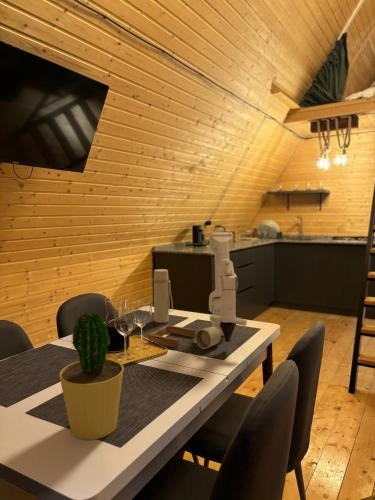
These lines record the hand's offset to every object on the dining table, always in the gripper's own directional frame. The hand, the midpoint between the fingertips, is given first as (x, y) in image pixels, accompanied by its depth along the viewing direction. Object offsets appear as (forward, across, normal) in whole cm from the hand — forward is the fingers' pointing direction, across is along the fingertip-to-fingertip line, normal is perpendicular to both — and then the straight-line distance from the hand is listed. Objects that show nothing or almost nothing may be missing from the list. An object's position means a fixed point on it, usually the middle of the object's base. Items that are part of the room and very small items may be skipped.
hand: (227, 341), depth 148 cm
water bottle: (+4, -42, +20) cm, 46 cm away
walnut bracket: (+3, -25, 0) cm, 25 cm away
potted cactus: (+4, -9, -64) cm, 65 cm away
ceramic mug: (+4, -10, 0) cm, 10 cm away
